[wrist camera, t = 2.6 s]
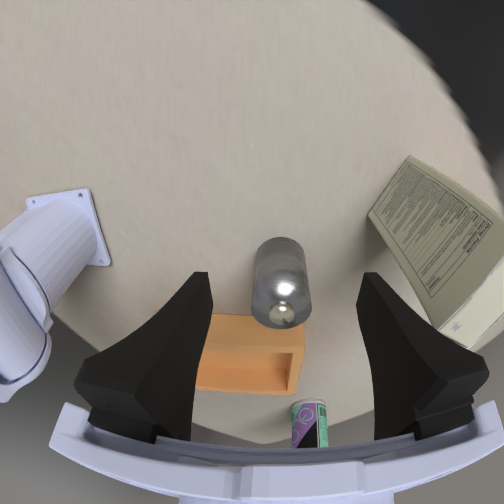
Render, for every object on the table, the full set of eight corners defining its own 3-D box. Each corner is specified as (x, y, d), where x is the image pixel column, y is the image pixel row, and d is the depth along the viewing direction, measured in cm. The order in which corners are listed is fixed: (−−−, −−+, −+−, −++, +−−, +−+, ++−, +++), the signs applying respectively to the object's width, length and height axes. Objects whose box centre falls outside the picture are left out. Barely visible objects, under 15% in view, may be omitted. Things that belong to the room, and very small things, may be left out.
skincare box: (400, 238, 21) (464, 355, 11) (364, 214, 20) (428, 338, 10) (444, 181, 18) (541, 274, 8) (411, 149, 17) (524, 234, 7)
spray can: (298, 397, 37) (297, 520, 20) (331, 399, 37) (336, 516, 21) (287, 410, 40) (284, 520, 23) (317, 412, 40) (319, 518, 24)
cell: (256, 276, 24) (251, 335, 19) (256, 236, 22) (249, 293, 16) (302, 276, 24) (308, 335, 18) (306, 237, 22) (316, 294, 16)
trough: (178, 361, 33) (171, 385, 30) (158, 309, 28) (147, 336, 25) (294, 368, 32) (294, 394, 29) (302, 316, 27) (305, 346, 23)
